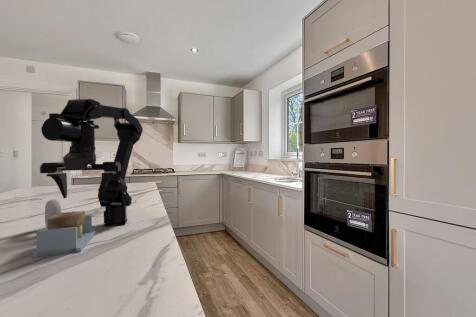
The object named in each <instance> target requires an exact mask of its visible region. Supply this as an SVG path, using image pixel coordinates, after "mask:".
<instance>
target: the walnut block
mask: <svg viewBox="0 0 476 317" xmlns="http://www.w3.org/2000/svg"><path fill="white" fill-rule="evenodd" d="M85 215H86V210H82V211H81V210H80V211H67V212H66V211H65V212H61V213H57V214H55V215H54V216H52V217H50V218H48V219H47V221H48V229H59V228H70V227H77V228H78V227H79V226H80V225H82V224H83V223H84V222H85Z"/></svg>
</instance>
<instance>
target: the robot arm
mask: <svg viewBox="0 0 476 317" xmlns="http://www.w3.org/2000/svg"><path fill="white" fill-rule="evenodd" d="M101 118H107V119H113V120H114V122H113V127H114V128H115V129H116V135H117V138H118V140H119V143H118V145H117V149H116V153H115V156H114V160H113V161H103V162H102V163H96V162H97V155H96V141H95V140H96V139H95V137H96V136H95V133H96V132H95V131H96V129H98V130H99V129H100V126H99V125H98V124H97V123H96V122H95V120H97V119H101ZM123 119H124V120H125V121H127V122H121V121H120V120H123ZM40 130H41V134H42V137H43V138H45V139H46V140H48V141H53V142H63V143H64V142H67V143H70V145H69V149H68V150H69V151H68V152H67V153H66V154H65V155H64V156H63V157H62V161H63V162H56V161H55V162H54V161H53V162H42V163H41V164H40V166H39V174H45V176H46V177H50V178H51V179H52V180H53V181H54V182H55V183H56V185H57V188H58V189H59V192H60V193H61V196H62V197H63V198H62V199H67V197H68V181H67V180H68V179H67V178H68V177H67V176H68V175H67V172H64V171H69V172H70V171H103V172H101V180H100V185H99V188H98V189H97V191H98V192H97V199H98V202H99V205H100V207H101V208H104V207H105V210H104V211H103V224H104V225H103V226H104V227H109V226H110V227H111V226H120V225H122V226H123V225H126V224H127V222H128V214H127V213H128V212H127V210H128V209H127V207H130V206H131V204H132V199H133V198H132V197H131V195H130V194H129V193H128V185H127V182H126V180H125V179H126V175H127V172H128V168H129V163H130V160H131V156H132V153H133V148H134V145H135V144H137V143H138V142H139V140H140V139H141V136H142V135H143V126H142V124H141V123H140V121H139V119H138V118H137V117H136V116H135V115H133V114H132V113H131V112H130V111H129V108H127V107H119V106H117V107H116V106H111V105H103V104H101V102H99V101H97V100H95V99H92V98H83V99H82V98H79V99H75V98H73V99H68V100H67V103H66V105H65V106H64V107H63V109H62V110H61V112H60V113H57V112H56V113H53V112H52V113H51V112H50V113H48V118H46V119H45V120H44V121H43V123H42V126H41V127H40ZM88 165H89V166H88Z"/></svg>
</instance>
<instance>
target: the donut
mask: <svg viewBox="0 0 476 317" xmlns="http://www.w3.org/2000/svg"><path fill="white" fill-rule="evenodd" d="M57 213H62V206H61V203H60V201H59V200H57V199H50V200H48V201H47V202H46V203H45V207H44V224H45V227H46V230H47V229H48V221H47V219H48V218H50V217H52V216H54V215H55V214H57Z"/></svg>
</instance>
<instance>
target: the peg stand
mask: <svg viewBox="0 0 476 317" xmlns="http://www.w3.org/2000/svg"><path fill="white" fill-rule="evenodd" d="M92 217H93V216H92V214H85V222H84V223H83V224H82V225H80V226H79V227H78V228H77V227H70V228H59V229H47V228H46V229H38V230H37V231H36V249H35V250H34V251H32V252H31V258H39V257H45V256H46V257H47V256H54V255H55V256H56V255H63V254H71V253H81V252H82V251H83V250H84V249H85V247H86V246H87V245H88V244H89V243H90V242H91V240H92V239H93V238H94V237H95V236H96V235H97V231H96V230H93V218H92Z"/></svg>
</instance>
